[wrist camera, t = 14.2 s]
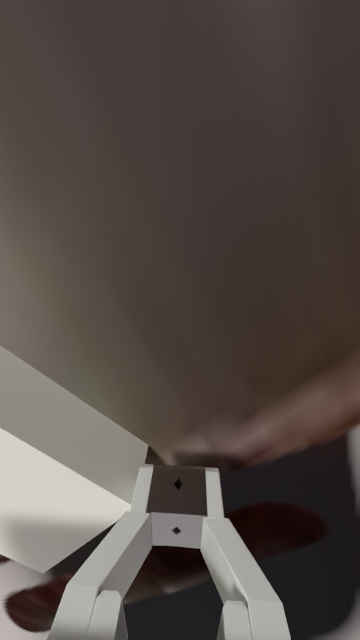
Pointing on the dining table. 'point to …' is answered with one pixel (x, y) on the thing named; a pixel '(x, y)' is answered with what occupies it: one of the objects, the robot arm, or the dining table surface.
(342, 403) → the dining table surface
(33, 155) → the dining table surface
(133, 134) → the dining table surface
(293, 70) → the dining table surface
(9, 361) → the slab
